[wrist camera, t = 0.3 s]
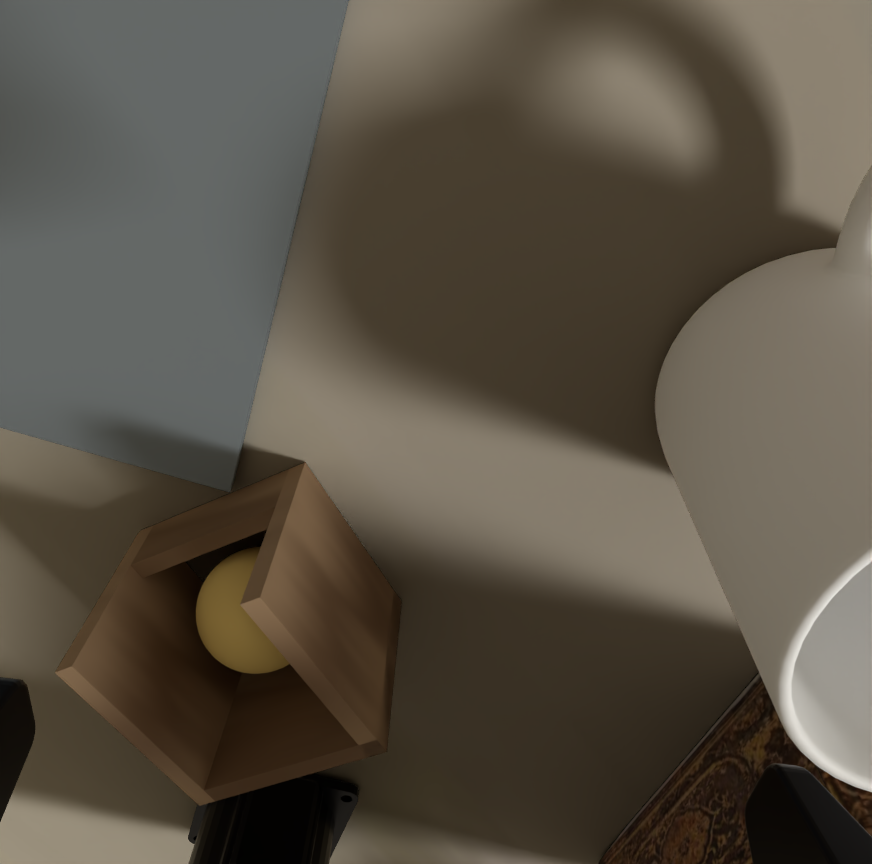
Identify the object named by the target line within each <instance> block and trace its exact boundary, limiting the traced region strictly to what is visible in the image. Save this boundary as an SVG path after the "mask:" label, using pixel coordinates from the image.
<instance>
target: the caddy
mask: <svg viewBox="0 0 872 864" xmlns="http://www.w3.org/2000/svg"><path fill="white" fill-rule="evenodd" d="M266 529H267V531H266V534H265V537H264V540H263V543H262V545H261V548H260V551H259V554H258V556H257V559H256V562H255V565H254V567H253V570H252V573H251V576H250V578H249V581H248V584H247V587H246V589H245V592H244V595H243V598H242V600H241V603H240V605H241V607H242V608H243V609H244V610H245V611H246V612H247V614H248V615H249V616H250V617H251V618H252V620H253V621H254V622H255V623H256V624H257V626H258V627H259V628H260V629H261V630H262V631H263V633H264V634H265V635H266V636H267V637H268V639H269V640H270V641H271V642H272V643H273V644H274V646H275V647H276V648H277V649H278V650H279V652H280V653H281V654H282V655H283V656H284V658H285V659H286V660H287V661H288V662H289V663H290V664H289V665H287V666H285V667H284V668H281V669H279V670H276V671H272V672H268V673H260V674H250V673H243V672H239V671H236V670H233V669H231V668H229V667H227V666H225V665H223V664H222V663H220V662H219V661H218V660H216V659H215V658H214V657H213V656H212V655H211V653H210V652H209V651H208V650H207V649H206V647H205V645H204V644H203V642H202V640H201V637H200V635H199V632H198V628H197V624H196V605H197V599H198V595H199V593H200V590H201V587H202V585H203V582H202V581H201V580H200V578H199V577H198V576H197V575H196V574H195V573H194V571H193V570H192V569H191V568H190V567H189V566H188V564H187V563H186V562H185V561H187V560H190V559H193V558H195V557H198V556H200V555H203V554H205V553H208V552H210V551H213V550H215V549H218V548H220V547H223V546H226V545H228V544H231V543H233V542H236V541H238V540H241V539H243V538H246V537H248V536H251V535H253V534H256V533H259V532H261V531H264V530H266ZM401 604H402V602H401V600H400V599H399V597H398V596H397V594H396V593H395V591H394V590H393V589H392V587H391V586H390V584H389V583H388V581H387V580H386V578H385V577H384V575H383V574H382V573H381V571H380V570H379V568H378V567H377V565H376V564H375V562H374V561H373V560H372V558H371V557H370V555H369V554H368V552H367V551H366V549H365V548H364V547H363V545H362V544H361V542H360V541H359V539H358V538H357V536H356V535H355V534H354V532H353V531H352V529H351V528H350V526H349V525H348V523H347V522H346V521H345V519H344V518H343V516H342V515H341V513H340V512H339V510H338V509H337V508H336V506H335V505H334V503H333V502H332V500H331V499H330V497H329V496H328V494H327V493H326V492H325V490H324V489H323V487H322V486H321V484H320V483H319V481H318V480H317V479H316V477H315V476H314V474H313V473H312V471H311V470H310V468H309V467H308V466H307V464H306V463H302V464H300V465H297V466H295V467H293V468H290V469H288V470H285V471H283V472H281V473H278V474H276V475H273V476H271V477H269V478H266V479H264V480H261V481H259V482H256V483H254V484H252V485H249V486H247V487H244V488H242V489H240V490H237V491H235V492H232V493H230V494H228V495H225V496H223V497H220V498H218V499H215V500H213V501H211V502H208V503H206V504H203V505H201V506H199V507H196V508H194V509H191V510H189V511H187V512H184V513H182V514H179V515H177V516H174V517H172V518H170V519H167V520H165V521H162V522H160V523H158V524H155V525H153V526H150V527H148V528H146V529H143V530H141V531H139V533H138V534H137V536H136V538H135V539H134V541H133V543H132V544H131V546H130V548H129V549H128V551H127V553H126V554H125V556H124V558H123V559H122V561H121V563H120V564H119V566H118V568H117V569H116V571H115V573H114V574H113V576H112V578H111V579H110V581H109V583H108V584H107V586H106V588H105V589H104V591H103V593H102V594H101V596H100V598H99V599H98V601H97V603H96V604H95V606H94V608H93V609H92V611H91V613H90V614H89V616H88V618H87V619H86V621H85V623H84V624H83V626H82V628H81V629H80V631H79V633H78V634H77V636H76V638H75V640H74V641H73V643H72V645H71V646H70V648H69V650H68V651H67V653H66V655H65V656H64V658H63V660H62V661H61V663H60V665H59V666H58V668H57V670H56V671H55V673H56V674H57V675H58V676H59V677H60V678H61V679H62V680H63V681H64V682H65V683H66V684H68V685H69V686H70V687H71V688H72V689H73V690H74V691H75V692H76V693H77V694H78V695H79V696H81V697H82V698H83V699H84V700H85V701H86V702H87V703H88V704H89V705H90V706H91V707H93V708H94V709H95V710H96V711H97V712H98V713H99V714H100V715H101V716H102V717H103V718H104V719H106V720H107V721H108V722H109V723H110V724H111V725H112V726H113V727H114V728H115V729H116V730H118V731H119V732H120V733H121V734H122V735H123V736H124V737H125V738H126V739H127V740H128V741H129V742H131V743H132V744H133V745H134V746H135V747H136V748H137V749H138V750H139V751H140V752H141V753H143V754H144V755H145V756H146V757H147V758H148V759H149V760H150V761H151V762H152V763H153V764H154V765H156V766H157V767H158V768H159V769H160V770H161V771H162V772H163V773H164V774H165V775H166V776H167V777H169V778H170V779H171V780H172V781H173V782H174V783H175V784H176V785H177V786H178V787H179V788H181V789H182V790H183V791H184V792H185V793H186V794H187V795H188V796H189V797H190V798H191V799H192V800H194V801H195V802H196V803H197V804H198V805H199V806H201V805H204V804H208V803H211V802H215V801H218V800H221V799H225V798H228V797H232V796H235V795H239V794H242V793H246V792H249V791H253V790H256V789H260V788H263V787H267V786H270V785H274V784H277V783H281V782H284V781H288V780H291V779H295V778H298V777H302V776H305V775H308V774H312V773H315V772H319V771H322V770H326V769H329V768H333V767H336V766H340V765H343V764H347V763H350V762H354V761H357V760H361V759H364V758H368V757H371V756H375V755H378V754H382V753H385V752H387V747H388V736H389V726H390V716H391V706H392V696H393V686H394V675H395V665H396V655H397V645H398V635H399V625H400V615H401Z"/></svg>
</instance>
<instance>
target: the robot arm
mask: <svg viewBox="0 0 872 864" xmlns="http://www.w3.org/2000/svg"><path fill="white" fill-rule="evenodd" d="M34 735H35V720H34V716H33V711H32V706H31V701H30V696H29V692H28V688H27V685H26V684H25V683H24V682H23V681H22V680H20V679H12V678H3V677H0V821H1V819H2V816H3V814H4V812H5V809H6V807H7V804H8V802H9V799H10V797H11V795H12V792H13V790H14V787H15V785H16V782H17V780H18V778H19V775H20V773H21V770H22V768H23V765H24V763H25V761H26V758H27V756H28V753H29V751H30V749H31V746H32V743H33V739H34ZM358 795H359V789H358V787H357V786H355V785H353V784H350V783H346V782H342V781H337V780H333V779H329V778H324V777H320V776H316V775H311V774H308V775H305V776H302V777H298V778H295V779H291V780H288V781H284V782H281V783H277V784H274V785H270V786H267V787H263V788H260V789H256V790H253V791H249V792H246V793H242V794H239V795H235V796H232V797H228V798H225V799H221V800H218V801H215V802H211V803H208V804H204V805H201V806H199V805H198V804H197V808H196V811H195V815H194V818H193V822H192V825H191V828H190V832H189V835H188V840H189V841H190V842H191V843H193V844H195V845H194V848H193V851H192V854H191V857H190V861H189V864H329V860H330V857H331V855H332V853H333V851H334V849H335V847H336V845H337V843H338V841H339V839H340V837H341V835H342V833H343V831H344V829H345V827H346V824H347V822H348V820H349V818H350V816H351V814H352V812H353V810H354V808H355V806H356V804H357V802H358ZM745 825H746V830H747V836H748V841H749V846H750V852H751V857H752V862H753V864H872V836H871V835H870V834H869V833H868V832H867V831H866V830H865V829H864V828H863V827H862V826H861V825H860V824H859V823H858V822H857V821H856V820H855V818H854V817H853V816H852V815H851V814H850V813H849V812H848V811H847V810H846V809H845V808H844V807H843V806H842V805H841V804H840V803H839V802H838V801H837V800H836V799H835V798H834V797H833V795H832V794H831V793H830V792H829V791H828V790H827V789H826V788H825V787H824V786H823V785H822V784H821V783H820V782H819V781H818V780H817V779H816V778H815V777H814V776H813V775H812V774H811V773H810V772H809V771H808V770H806V769H805V768H803V767H800V766H795V765H786V764H777V763H773V764H770V765H769V766H767V767H766V769H765V770H764V772H763V773H762V775H761V777H760V779H759V780H758V782H757V784H756V786H755V787H754V789H753V791H752V793H751V794H750V796H749V798H748V800H747V802H746V806H745Z"/></svg>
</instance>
